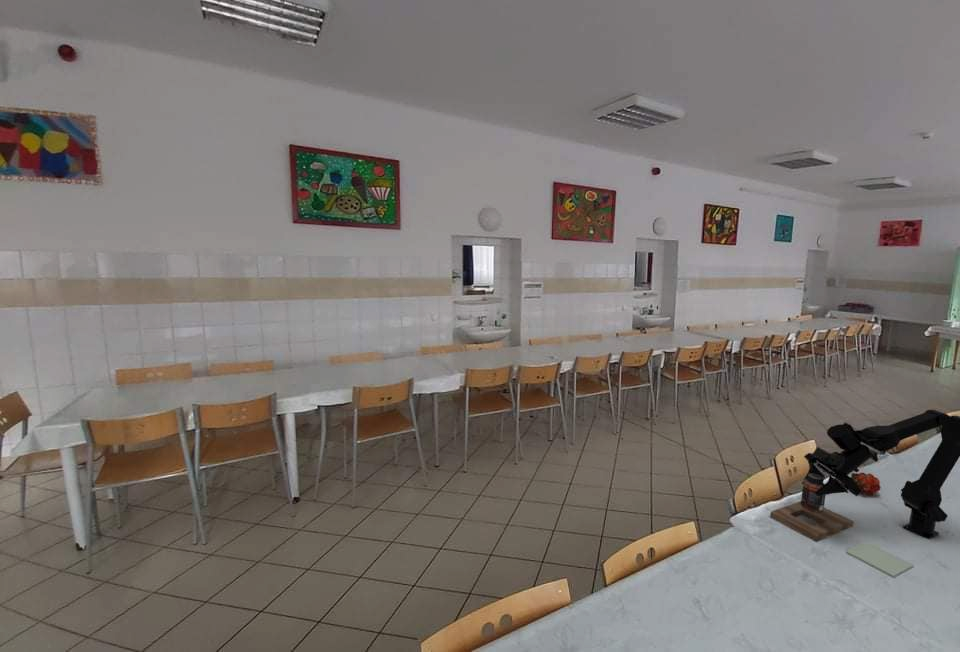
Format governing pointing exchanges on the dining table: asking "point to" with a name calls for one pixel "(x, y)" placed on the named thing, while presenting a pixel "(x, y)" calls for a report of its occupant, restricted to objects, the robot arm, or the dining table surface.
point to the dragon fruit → (866, 483)
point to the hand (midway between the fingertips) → (809, 489)
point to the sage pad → (880, 559)
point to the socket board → (827, 519)
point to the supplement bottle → (813, 494)
